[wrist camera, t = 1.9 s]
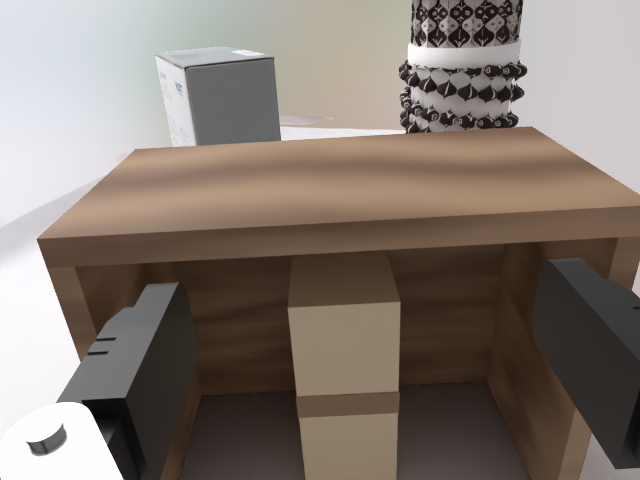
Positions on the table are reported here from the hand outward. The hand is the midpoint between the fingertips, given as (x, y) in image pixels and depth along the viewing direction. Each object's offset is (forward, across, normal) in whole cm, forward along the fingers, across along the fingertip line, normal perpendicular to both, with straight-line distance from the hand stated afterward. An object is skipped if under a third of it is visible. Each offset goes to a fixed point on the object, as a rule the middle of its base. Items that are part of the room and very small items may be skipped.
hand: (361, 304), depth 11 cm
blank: (+11, 0, +18) cm, 21 cm away
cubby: (+11, 0, +18) cm, 21 cm away
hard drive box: (+38, +11, +18) cm, 43 cm away
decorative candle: (+29, -10, +18) cm, 35 cm away
